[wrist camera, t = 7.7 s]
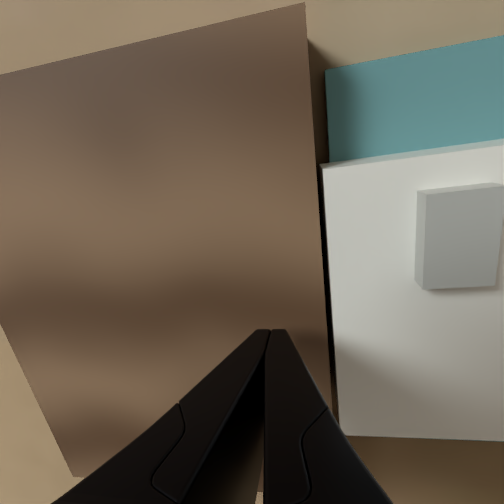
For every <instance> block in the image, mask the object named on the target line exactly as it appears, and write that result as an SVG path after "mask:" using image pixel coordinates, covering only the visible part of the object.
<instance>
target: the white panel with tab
mask: <svg viewBox="0 0 504 504" xmlns="http://www.w3.org/2000/svg"><path fill="white" fill-rule="evenodd" d="M319 171H320V186H321V200H322V214H323V228H324V243H325V257H326V271H327V285H328V300H329V314H330V328H331V342H332V357H333V371H334V385H335V395H336V403H337V411H338V419H339V426H340V428H341V429H342V431H343V433H344V434H345V435H351V436H378V437H404V438H431V439H458V440H485V441H504V139H497V140H490V141H483V142H476V143H468V144H461V145H454V146H447V147H440V148H432V149H425V150H418V151H411V152H403V153H396V154H389V155H382V156H374V157H367V158H360V159H353V160H346V161H338V162H331V163H324V164H319Z"/></svg>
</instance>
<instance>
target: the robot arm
mask: <svg viewBox="0 0 504 504" xmlns="http://www.w3.org/2000/svg"><path fill="white" fill-rule="evenodd" d="M263 456H264V467H263V504H393V503H392V501H391V500H390V498H389V497H388V496H387V494H386V493H385V492H384V490H383V489H382V488H381V486H380V485H379V483H378V482H377V481H376V479H375V478H374V477H373V475H372V474H371V473H370V471H369V470H368V468H367V467H366V466H365V464H364V463H363V461H362V460H361V458H360V457H359V456H358V454H357V453H356V451H355V450H354V448H353V447H352V445H351V444H350V443H349V441H348V439H347V438H346V436H345V434H344V433H343V431H342V429H341V428H340V426H339V424H338V423H337V421H336V419H335V417H334V415H333V413H332V412H331V410H330V409H329V407H328V405H327V403H326V401H325V399H324V397H323V396H322V394H321V392H320V390H319V388H318V387H317V385H316V383H315V381H314V379H313V377H312V376H311V374H310V372H309V370H308V368H307V366H306V365H305V363H304V361H303V359H302V357H301V356H300V354H299V352H298V350H297V348H296V346H295V345H294V343H293V341H292V339H291V337H290V336H289V334H288V332H287V330H286V329H272V330H270V329H257V330H255V331H254V332H253V333H252V334H251V335H250V336H249V337H248V338H246V339H245V340H244V341H243V342H242V343H241V344H240V345H239V346H238V347H237V348H236V349H235V350H233V351H232V352H231V353H230V354H229V355H228V356H227V357H226V358H225V359H224V360H223V361H222V362H220V363H219V364H218V365H217V366H216V367H215V368H214V369H213V370H212V371H211V372H210V373H209V374H207V375H206V376H205V377H204V378H203V379H202V380H201V381H200V382H199V383H198V384H197V385H196V386H194V387H193V388H192V389H191V390H190V391H189V392H188V393H187V394H186V395H185V396H184V397H183V398H181V399H180V400H179V403H176V404H175V405H174V406H173V407H172V408H170V409H169V410H168V411H167V412H166V413H165V414H164V415H163V416H162V417H160V418H159V419H158V420H157V421H156V422H155V423H154V424H152V425H151V426H150V427H149V428H148V429H147V430H146V431H144V432H143V433H142V434H141V435H139V436H138V437H137V438H136V439H134V440H133V441H132V442H131V443H129V444H128V445H127V446H126V447H125V448H123V449H122V450H121V451H119V452H118V453H117V454H116V455H114V456H113V457H112V458H110V459H109V460H108V461H107V462H105V463H104V464H103V465H101V466H100V467H99V468H98V469H96V470H95V471H94V472H92V473H91V474H90V475H89V476H87V477H86V478H85V479H83V480H82V481H81V482H80V483H78V484H77V485H76V486H74V487H73V488H72V489H71V490H69V491H68V492H67V493H65V494H64V495H63V496H61V497H60V498H58V499H57V500H56V501H54V502H52V503H51V504H255V501H256V495H257V490H258V484H259V479H260V473H261V468H262V462H263Z"/></svg>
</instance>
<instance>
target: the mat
mask: <svg viewBox="0 0 504 504" xmlns="http://www.w3.org/2000/svg"><path fill="white" fill-rule="evenodd" d="M324 73H325V92H326V110H327V129H328V148H329V163H331V162H338V161H346V160H353V159H360V158H367V157H374V156H382V155H389V154H396V153H403V152H411V151H418V150H425V149H432V148H440V147H447V146H454V145H461V144H468V143H476V142H483V141H490V140H497V139H504V35H503V36H498V37H493V38H487V39H482V40H477V41H472V42H467V43H461V44H456V45H451V46H446V47H441V48H435V49H430V50H425V51H420V52H415V53H409V54H404V55H399V56H394V57H389V58H384V59H378V60H373V61H368V62H363V63H358V64H352V65H347V66H342V67H337V68H332V69H326V70H325V72H324ZM350 436H351V435H350ZM375 437H378V436H375ZM399 438H404V437H399ZM423 439H431V438H423ZM447 440H458V439H447ZM471 441H485V440H471ZM496 442H504V441H496Z"/></svg>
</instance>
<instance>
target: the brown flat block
mask: <svg viewBox="0 0 504 504" xmlns="http://www.w3.org/2000/svg"><path fill="white" fill-rule="evenodd" d="M0 324H1V326H2V328H3V330H4V332H5V334H6V337H7V339H8V341H9V343H10V345H11V347H12V349H13V351H14V353H15V355H16V358H17V360H18V362H19V364H20V366H21V368H22V370H23V372H24V374H25V377H26V379H27V381H28V383H29V385H30V387H31V389H32V391H33V393H34V395H35V398H36V400H37V402H38V404H39V406H40V408H41V410H42V412H43V414H44V416H45V419H46V421H47V423H48V425H49V427H50V429H51V431H52V433H53V435H54V437H55V440H56V442H57V444H58V446H59V448H60V450H61V452H62V454H63V456H64V459H65V461H66V463H67V465H68V467H69V469H70V471H71V473H72V475H73V477H84V478H86V477H87V476H89V475H90V474H91V473H92V472H94V471H95V470H96V469H98V468H99V467H100V466H101V465H103V464H104V463H105V462H107V461H108V460H109V459H110V458H112V457H113V456H114V455H116V454H117V453H118V452H119V451H121V450H122V449H123V448H125V447H126V446H127V445H128V444H129V443H131V442H132V441H133V440H134V439H136V438H137V437H138V436H139V435H141V434H142V433H143V432H144V431H146V430H147V429H148V428H149V427H150V426H151V425H152V424H154V423H155V422H156V421H157V420H158V419H159V418H160V417H162V416H163V415H164V414H165V413H166V412H167V411H168V410H169V409H170V408H172V407H173V406H174V405H175V404H176V403H179V400H180V399H181V398H183V397H184V396H185V395H186V394H187V393H188V392H189V391H190V390H191V389H192V388H193V387H194V386H196V385H197V384H198V383H199V382H200V381H201V380H202V379H203V378H204V377H205V376H206V375H207V374H209V373H210V372H211V371H212V370H213V369H214V368H215V367H216V366H217V365H218V364H219V363H220V362H222V361H223V360H224V359H225V358H226V357H227V356H228V355H229V354H230V353H231V352H232V351H233V350H235V349H236V348H237V347H238V346H239V345H240V344H241V343H242V342H243V341H244V340H245V339H246V338H248V337H249V336H250V335H251V334H252V333H253V332H254V331H255V330H257V329H270V330H272V329H286V330H287V332H288V334H289V336H290V337H291V339H292V341H293V343H294V345H295V346H296V348H297V350H298V352H299V354H300V356H301V357H302V359H303V361H304V363H305V365H306V366H307V368H308V370H309V372H310V374H311V376H312V377H313V379H314V381H315V383H316V385H317V387H318V388H319V390H320V392H321V394H322V396H323V397H324V399H325V401H326V403H327V405H328V407H329V409H330V410H331V412H332V413H333V411H332V396H331V381H330V367H329V352H328V337H327V322H326V308H325V293H324V278H323V263H322V249H321V234H320V219H319V204H318V190H317V175H316V160H315V145H314V131H313V116H312V101H311V86H310V72H309V57H308V42H307V27H306V13H305V2H303V3H299V4H295V5H291V6H287V7H282V8H278V9H274V10H270V11H266V12H262V13H257V14H253V15H249V16H245V17H241V18H236V19H232V20H228V21H224V22H220V23H215V24H211V25H207V26H203V27H199V28H195V29H190V30H186V31H182V32H178V33H174V34H169V35H165V36H161V37H157V38H153V39H149V40H144V41H140V42H136V43H132V44H128V45H123V46H119V47H115V48H111V49H107V50H102V51H98V52H94V53H90V54H86V55H82V56H77V57H73V58H69V59H65V60H61V61H56V62H52V63H48V64H44V65H40V66H36V67H31V68H27V69H23V70H19V71H15V72H10V73H6V74H2V75H0ZM263 467H264V456H263V462H262V468H261V473H260V479H259V484H258V490H257V492H263Z"/></svg>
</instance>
